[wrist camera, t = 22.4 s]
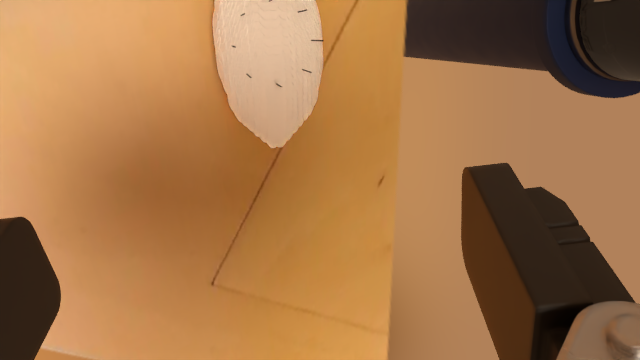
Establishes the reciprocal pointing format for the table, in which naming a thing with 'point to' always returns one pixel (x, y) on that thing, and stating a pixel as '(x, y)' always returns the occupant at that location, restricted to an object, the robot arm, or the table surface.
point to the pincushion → (269, 63)
